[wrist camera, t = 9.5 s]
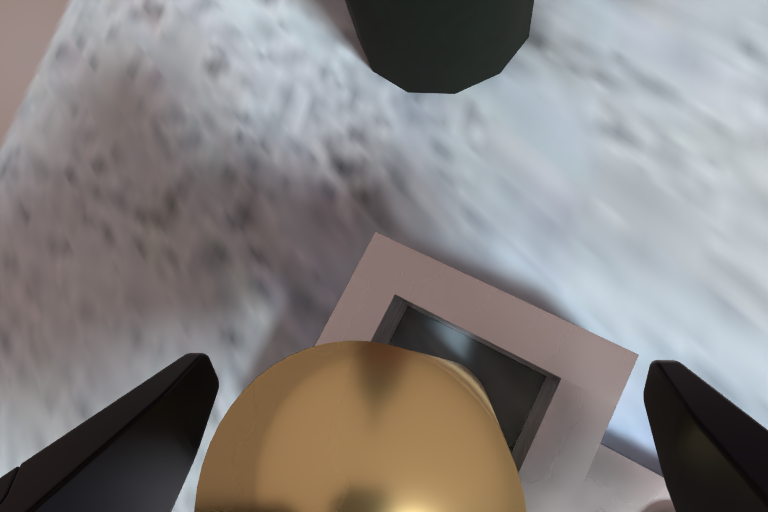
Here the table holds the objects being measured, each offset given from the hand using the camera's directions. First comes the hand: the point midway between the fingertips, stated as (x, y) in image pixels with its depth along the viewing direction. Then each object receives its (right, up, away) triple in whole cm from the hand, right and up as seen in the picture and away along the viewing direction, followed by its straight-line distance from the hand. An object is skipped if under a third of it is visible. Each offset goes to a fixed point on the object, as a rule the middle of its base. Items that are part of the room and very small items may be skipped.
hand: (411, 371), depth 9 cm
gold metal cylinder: (+2, -3, +7) cm, 8 cm away
